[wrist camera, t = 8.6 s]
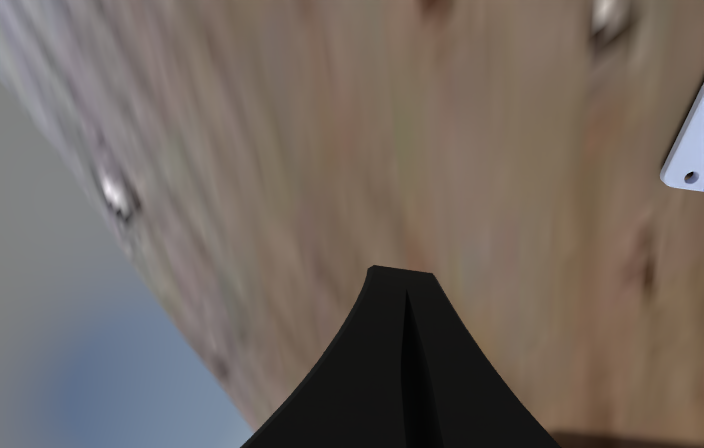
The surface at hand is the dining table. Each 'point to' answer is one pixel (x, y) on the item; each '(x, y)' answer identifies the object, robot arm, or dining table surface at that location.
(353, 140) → the dining table surface
